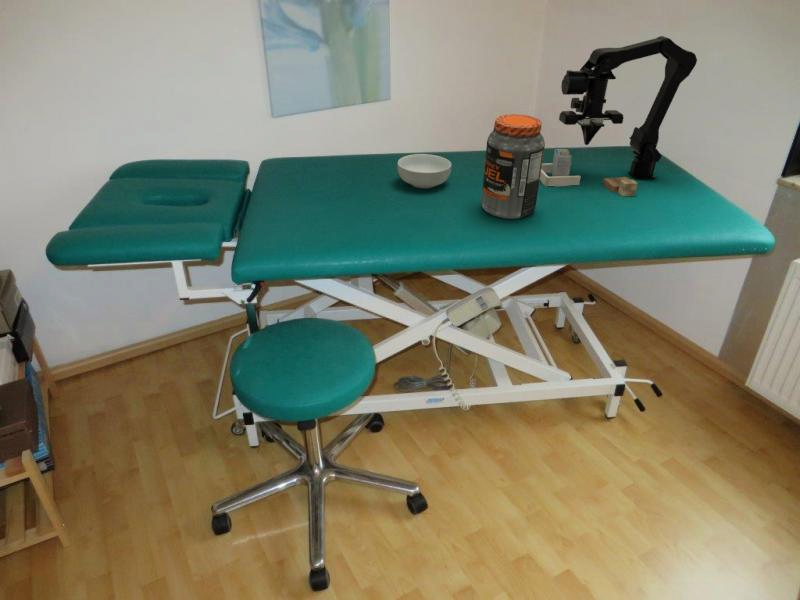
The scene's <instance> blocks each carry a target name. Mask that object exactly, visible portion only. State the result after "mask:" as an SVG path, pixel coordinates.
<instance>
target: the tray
mask: <svg viewBox="0 0 800 600" xmlns="http://www.w3.org/2000/svg"><path fill="white" fill-rule="evenodd" d="M552 165H553V162H552V163H550V162H549V163H542V168H541V175H540V180H541V181H540V182H541V183H542V185H543V186H546V188H548V187H547V186H555V187H572V186H571V185H579V186H580V184H581V182H580V181H581V178H582V177H581V175H569V176H557V177H552V176H548V174H551V172H552ZM569 185H570V186H569Z"/></svg>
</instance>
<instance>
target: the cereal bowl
mask: <svg viewBox="0 0 800 600" xmlns="http://www.w3.org/2000/svg"><path fill="white" fill-rule="evenodd" d="M396 165H397V173H398V175H399V177H400V178H401V180H403V182H405V183H407V184H410V185H411V186H412V187H414V188H418V189H431V188H433V187H435V186H439V185H442V184H444V183H445V182H446V181H447V180H448V179H449V177H450V175H451V171H452V162H451V161H450V160H449V159H447V158H445V157H442V156H440V155H435V154H428V153H427V154H426V153H417V154H416V153H415V154H409V155H405V156H402V157H400V158H399V159H398V161H397V164H396Z"/></svg>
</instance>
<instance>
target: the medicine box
mask: <svg viewBox="0 0 800 600" xmlns="http://www.w3.org/2000/svg"><path fill="white" fill-rule="evenodd" d="M572 159H573V157H572V155H571V153H570V152H569V149H566V148H565V149H564V148H556V149H554V152H553V159H552V163H553V165H552V172H551V173H550V174H551V175H552V176H551V177H557V176H570V171H571V166H572V165H571V164H572Z"/></svg>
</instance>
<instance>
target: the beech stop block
mask: <svg viewBox="0 0 800 600" xmlns="http://www.w3.org/2000/svg"><path fill="white" fill-rule="evenodd" d="M636 188H637V189H638V182H637V181H635V180H634V179H630V180H621V181H620V186H619V190H618V192H617V193H618V194H619V195H620V196H621V197H635V195H636V192H637V190H636Z"/></svg>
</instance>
